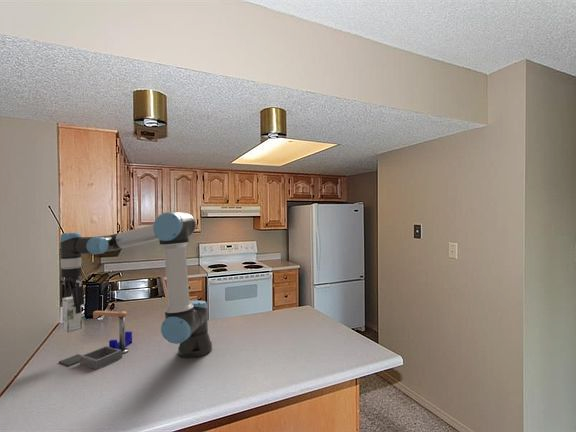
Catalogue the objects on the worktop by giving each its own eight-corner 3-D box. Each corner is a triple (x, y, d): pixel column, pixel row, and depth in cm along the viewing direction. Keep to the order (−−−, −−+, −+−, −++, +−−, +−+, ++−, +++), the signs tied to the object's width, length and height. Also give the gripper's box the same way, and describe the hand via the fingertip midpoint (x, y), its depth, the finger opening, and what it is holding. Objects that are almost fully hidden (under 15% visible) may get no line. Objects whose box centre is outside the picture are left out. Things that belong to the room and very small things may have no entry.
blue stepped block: (124, 343, 157) (123, 331, 157) (132, 343, 157) (131, 331, 157) (106, 353, 145) (106, 340, 145) (115, 353, 145) (114, 341, 145)
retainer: (128, 317, 148) (128, 311, 148) (122, 320, 144) (122, 314, 144) (98, 316, 151) (98, 310, 151) (91, 318, 147) (91, 312, 147)
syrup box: (77, 326, 142) (76, 294, 142) (82, 328, 138) (81, 296, 139) (62, 330, 138) (62, 297, 138) (67, 332, 134) (66, 299, 134)
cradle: (122, 358, 140) (121, 350, 140) (96, 369, 129) (96, 361, 129) (106, 353, 145) (105, 345, 145) (80, 364, 135) (80, 356, 135)
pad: (88, 358, 140) (88, 357, 140) (69, 366, 133) (69, 365, 133) (78, 355, 144) (78, 354, 144) (58, 362, 136) (58, 361, 136)
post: (130, 350, 147) (130, 315, 147) (121, 355, 143) (120, 318, 143) (124, 349, 149) (123, 314, 149) (114, 353, 145) (113, 317, 145)
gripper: (93, 267, 137) (94, 319, 137) (68, 265, 146) (69, 314, 146) (75, 270, 130) (76, 325, 130) (50, 267, 139) (51, 319, 139)
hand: (72, 319), depth 138 cm, fingers closed on syrup box, 6 cm apart
